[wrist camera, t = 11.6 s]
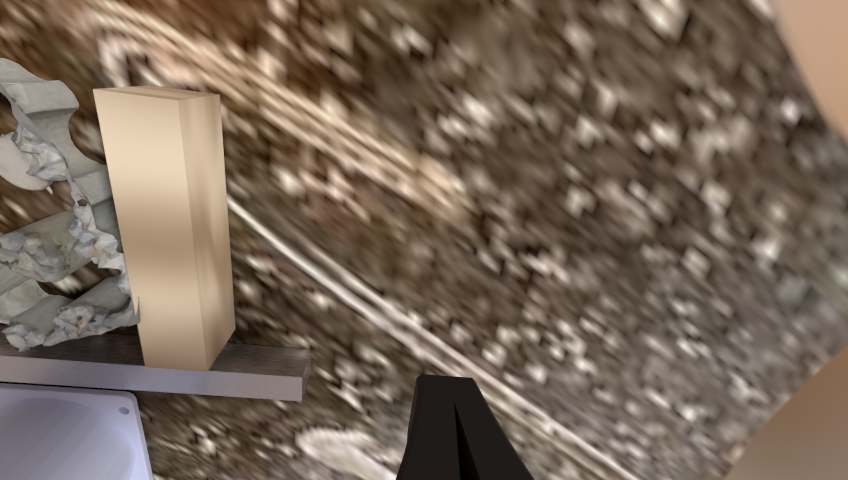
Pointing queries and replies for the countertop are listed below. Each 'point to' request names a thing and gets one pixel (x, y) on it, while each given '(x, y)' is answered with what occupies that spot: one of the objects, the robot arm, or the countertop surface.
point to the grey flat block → (125, 369)
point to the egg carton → (56, 223)
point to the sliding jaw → (171, 219)
